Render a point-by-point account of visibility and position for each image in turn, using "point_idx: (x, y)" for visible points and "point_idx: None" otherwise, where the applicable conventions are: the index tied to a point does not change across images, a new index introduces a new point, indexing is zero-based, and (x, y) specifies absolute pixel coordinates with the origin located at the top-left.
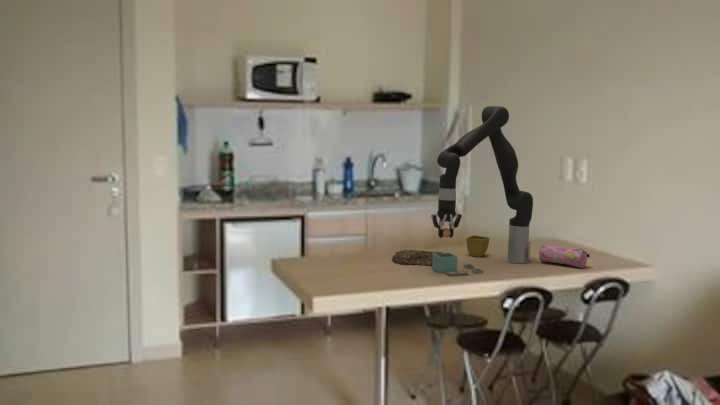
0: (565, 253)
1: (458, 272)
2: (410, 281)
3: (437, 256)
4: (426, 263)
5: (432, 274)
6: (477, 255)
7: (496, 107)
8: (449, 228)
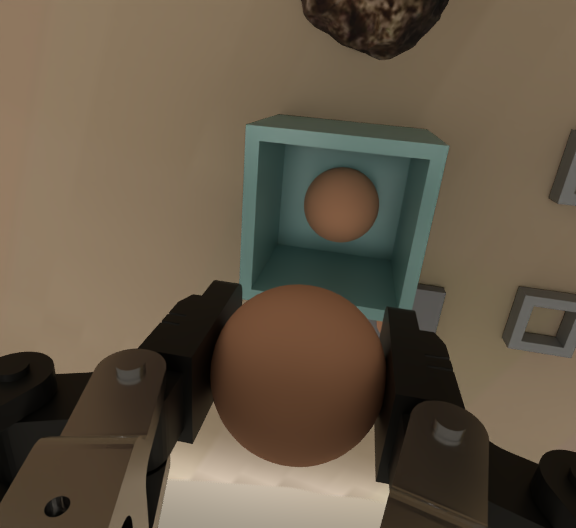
0: None
1: (376, 321)
2: (50, 343)
3: (241, 249)
4: None
5: (215, 257)
6: None
7: None
8: (406, 395)
